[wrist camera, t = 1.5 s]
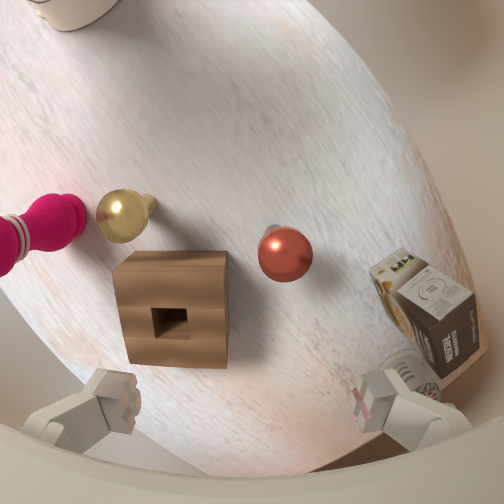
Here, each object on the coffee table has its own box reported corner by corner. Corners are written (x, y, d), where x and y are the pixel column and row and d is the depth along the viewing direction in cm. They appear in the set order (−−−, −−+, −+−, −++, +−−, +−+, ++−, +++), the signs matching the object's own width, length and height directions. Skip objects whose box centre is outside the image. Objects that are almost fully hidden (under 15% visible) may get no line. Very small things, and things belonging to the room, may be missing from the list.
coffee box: (366, 270, 39) (427, 327, 24) (402, 246, 38) (474, 289, 23) (387, 317, 41) (441, 381, 26) (419, 295, 41) (481, 348, 25)
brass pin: (126, 184, 34) (94, 191, 26) (165, 182, 35) (142, 188, 26) (128, 225, 36) (98, 243, 27) (167, 224, 36) (145, 242, 27)
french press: (430, 350, 44) (507, 443, 20) (401, 399, 47) (456, 494, 23) (390, 346, 43) (468, 459, 19) (360, 398, 46) (411, 510, 22)
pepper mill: (70, 179, 34) (-40, 200, 15) (99, 219, 36) (-2, 269, 16) (42, 213, 35) (-60, 252, 16) (69, 251, 37) (-25, 313, 17)
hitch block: (135, 250, 37) (111, 271, 29) (226, 250, 37) (223, 273, 30) (146, 331, 40) (129, 363, 33) (228, 333, 41) (226, 368, 33)
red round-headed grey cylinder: (254, 214, 36) (259, 229, 28) (296, 214, 36) (314, 230, 28) (254, 255, 38) (258, 282, 29) (294, 255, 38) (310, 281, 29)
